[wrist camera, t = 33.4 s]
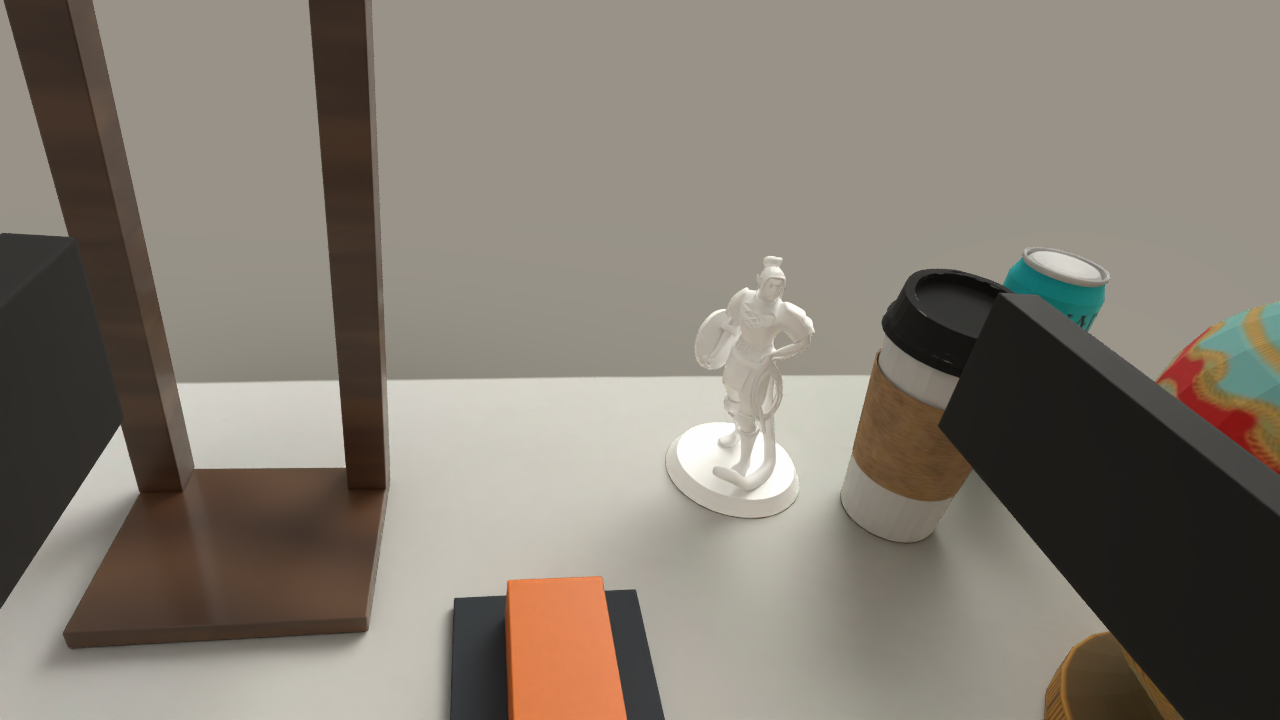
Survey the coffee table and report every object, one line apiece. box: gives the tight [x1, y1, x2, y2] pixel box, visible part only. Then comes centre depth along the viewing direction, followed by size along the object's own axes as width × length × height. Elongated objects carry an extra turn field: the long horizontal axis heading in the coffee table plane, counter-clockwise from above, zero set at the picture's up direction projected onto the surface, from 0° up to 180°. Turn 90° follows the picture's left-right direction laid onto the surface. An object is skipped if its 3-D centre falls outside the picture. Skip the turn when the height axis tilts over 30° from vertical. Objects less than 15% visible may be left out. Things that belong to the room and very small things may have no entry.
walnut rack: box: [4, 0, 390, 648], centre depth 29 cm, size 11×12×32 cm
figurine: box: [666, 256, 815, 518], centre depth 44 cm, size 9×9×15 cm
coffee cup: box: [841, 269, 1016, 543], centre depth 43 cm, size 8×8×15 cm
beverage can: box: [1003, 247, 1110, 332], centre depth 50 cm, size 6×6×15 cm
